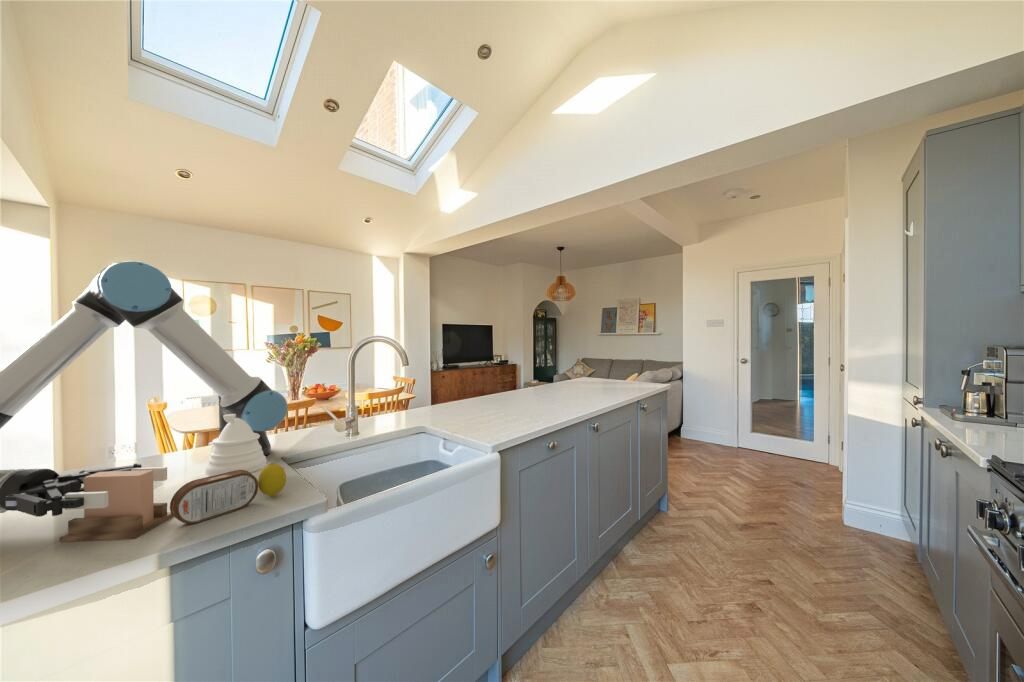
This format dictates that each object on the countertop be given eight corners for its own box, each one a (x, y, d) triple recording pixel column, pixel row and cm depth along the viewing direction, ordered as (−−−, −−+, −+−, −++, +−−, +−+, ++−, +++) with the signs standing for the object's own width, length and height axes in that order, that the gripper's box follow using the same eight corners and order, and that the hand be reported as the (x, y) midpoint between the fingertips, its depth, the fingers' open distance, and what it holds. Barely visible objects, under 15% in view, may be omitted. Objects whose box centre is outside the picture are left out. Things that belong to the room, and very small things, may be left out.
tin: (254, 500, 88) (254, 464, 88) (260, 504, 86) (260, 466, 86) (169, 527, 76) (168, 485, 76) (174, 532, 74) (174, 488, 74)
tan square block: (84, 529, 74) (83, 477, 73) (100, 521, 77) (99, 471, 76) (140, 526, 74) (140, 475, 74) (153, 519, 77) (153, 470, 77)
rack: (59, 541, 70) (59, 524, 70) (106, 518, 79) (106, 502, 79) (135, 538, 72) (135, 520, 72) (173, 516, 80) (173, 500, 80)
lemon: (262, 493, 92) (262, 460, 92) (288, 490, 94) (288, 458, 93) (255, 503, 87) (254, 468, 86) (282, 500, 88) (282, 465, 88)
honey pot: (235, 494, 92) (234, 419, 91) (191, 490, 94) (190, 417, 94) (278, 475, 104) (277, 409, 104) (238, 472, 107) (238, 408, 107)
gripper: (84, 484, 86) (186, 481, 88) (-72, 543, 62) (73, 536, 63) (84, 451, 86) (185, 448, 88) (-73, 496, 62) (72, 491, 63)
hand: (138, 485), depth 76 cm, fingers open, 12 cm apart
